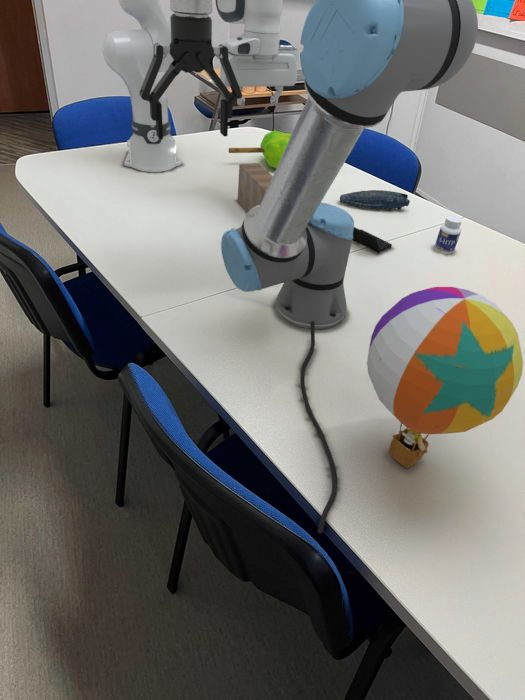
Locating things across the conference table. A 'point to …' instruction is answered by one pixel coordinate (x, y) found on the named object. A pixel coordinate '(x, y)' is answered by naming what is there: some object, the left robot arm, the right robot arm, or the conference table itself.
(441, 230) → the pill bottle
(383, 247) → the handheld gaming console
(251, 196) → the box
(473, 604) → the conference table surface
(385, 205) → the fish model
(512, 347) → the toy
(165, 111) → the left robot arm
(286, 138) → the decorative tree
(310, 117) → the right robot arm
